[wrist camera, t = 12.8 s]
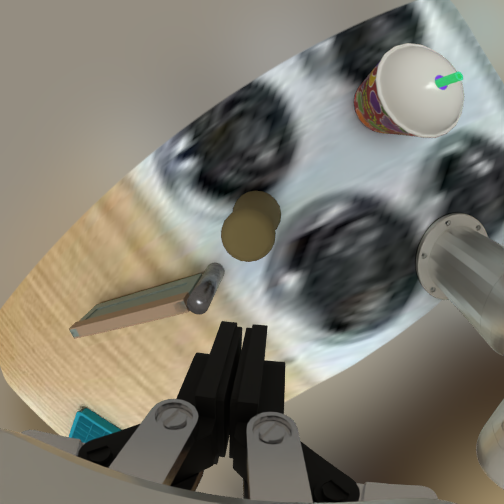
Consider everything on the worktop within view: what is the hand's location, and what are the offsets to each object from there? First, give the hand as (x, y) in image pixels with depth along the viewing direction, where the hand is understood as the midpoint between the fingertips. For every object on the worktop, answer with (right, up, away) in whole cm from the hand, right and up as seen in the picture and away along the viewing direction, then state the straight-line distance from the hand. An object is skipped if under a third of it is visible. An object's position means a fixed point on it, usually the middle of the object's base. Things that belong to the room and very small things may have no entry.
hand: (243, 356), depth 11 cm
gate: (-15, -2, +32) cm, 36 cm away
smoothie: (+16, +21, +22) cm, 35 cm away
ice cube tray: (-37, -40, +49) cm, 73 cm away
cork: (+1, +8, +28) cm, 29 cm away
